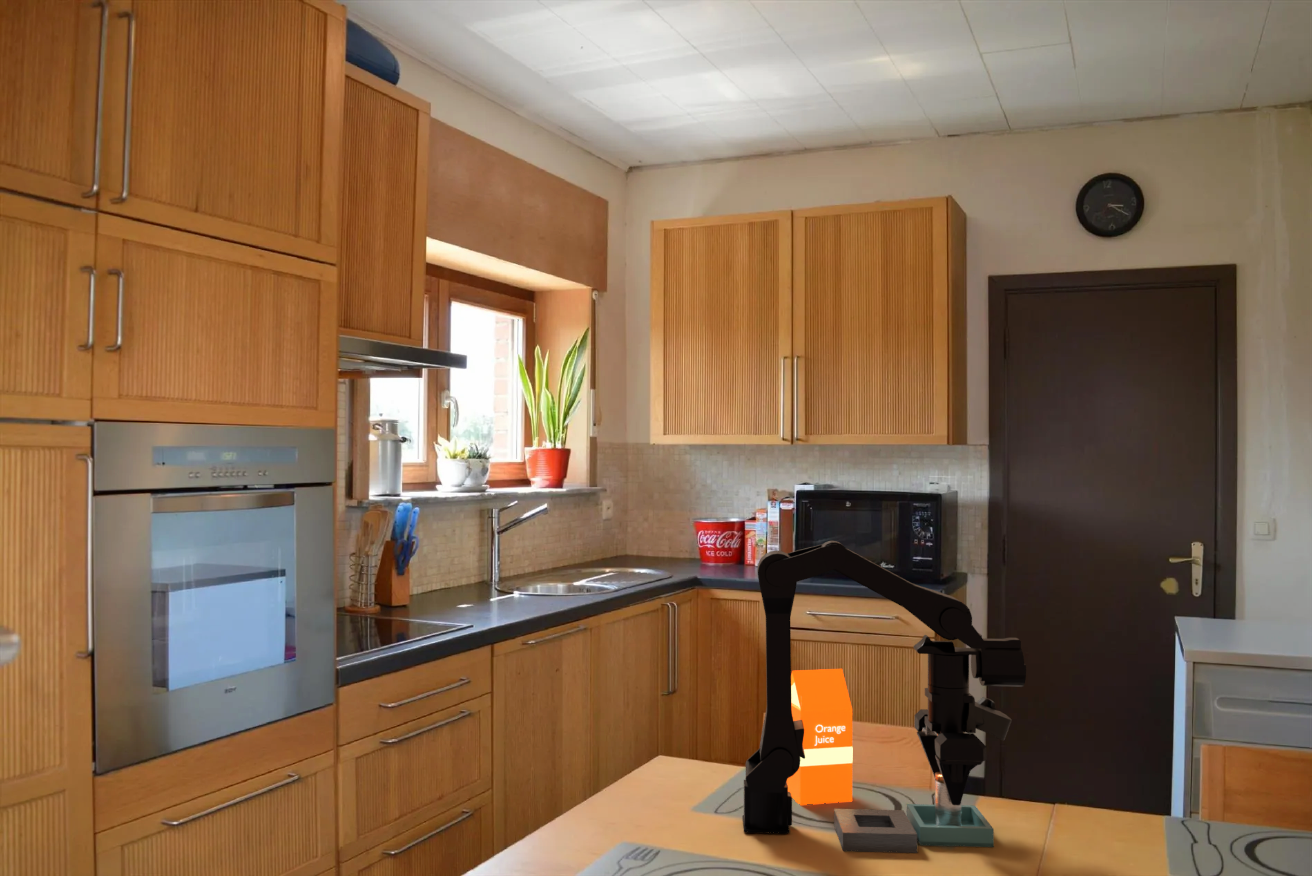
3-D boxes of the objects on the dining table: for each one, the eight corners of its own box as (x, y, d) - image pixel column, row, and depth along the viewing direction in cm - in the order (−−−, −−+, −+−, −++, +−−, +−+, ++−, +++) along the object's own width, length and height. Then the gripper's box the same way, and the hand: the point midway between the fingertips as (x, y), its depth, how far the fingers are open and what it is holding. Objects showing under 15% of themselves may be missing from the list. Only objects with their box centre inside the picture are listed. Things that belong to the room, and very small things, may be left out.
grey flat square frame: (842, 851, 142) (842, 832, 142) (834, 826, 152) (834, 808, 152) (917, 853, 141) (917, 834, 141) (903, 827, 151) (903, 810, 151)
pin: (938, 834, 147) (938, 778, 148) (932, 825, 151) (932, 771, 151) (964, 834, 147) (963, 778, 147) (958, 826, 151) (957, 771, 151)
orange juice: (782, 790, 168) (782, 666, 169) (833, 787, 171) (833, 664, 171) (800, 806, 161) (800, 675, 162) (853, 802, 163) (853, 673, 164)
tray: (920, 845, 144) (920, 827, 144) (906, 821, 154) (906, 804, 154) (993, 847, 144) (993, 828, 144) (975, 822, 154) (975, 805, 154)
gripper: (1025, 700, 140) (1025, 817, 139) (987, 673, 158) (988, 776, 158) (941, 698, 140) (941, 815, 140) (913, 671, 159) (913, 775, 159)
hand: (948, 794), depth 149 cm, fingers open, 9 cm apart
